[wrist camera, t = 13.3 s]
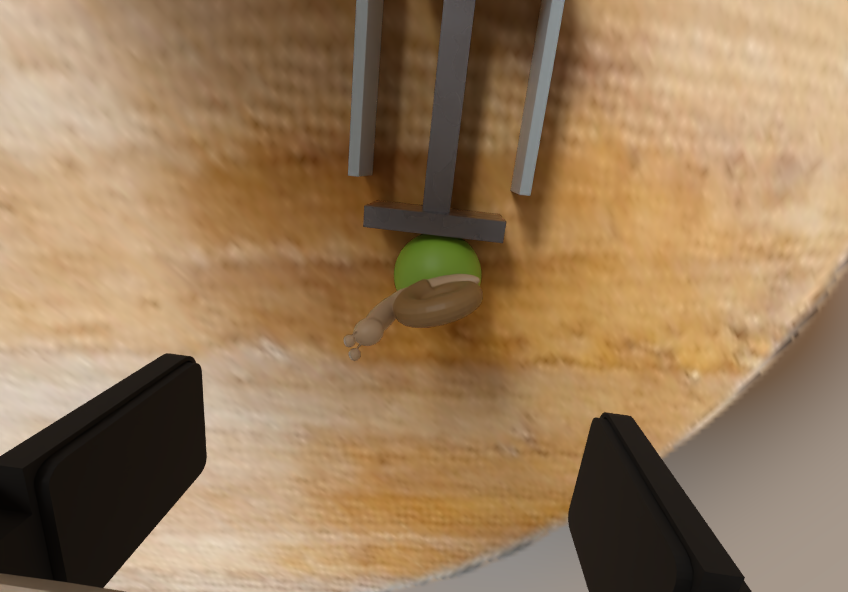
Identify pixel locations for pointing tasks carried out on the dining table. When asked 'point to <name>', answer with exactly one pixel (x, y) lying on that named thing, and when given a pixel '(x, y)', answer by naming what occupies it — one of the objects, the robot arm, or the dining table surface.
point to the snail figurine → (425, 289)
